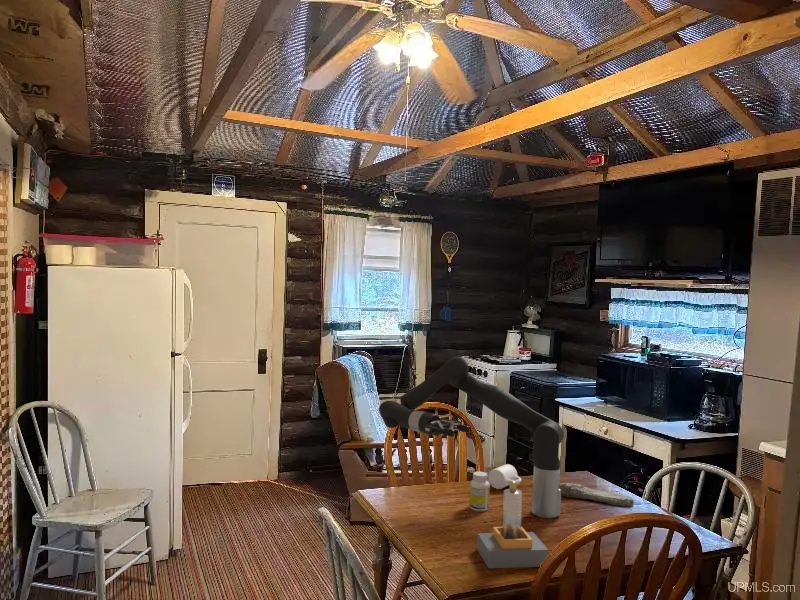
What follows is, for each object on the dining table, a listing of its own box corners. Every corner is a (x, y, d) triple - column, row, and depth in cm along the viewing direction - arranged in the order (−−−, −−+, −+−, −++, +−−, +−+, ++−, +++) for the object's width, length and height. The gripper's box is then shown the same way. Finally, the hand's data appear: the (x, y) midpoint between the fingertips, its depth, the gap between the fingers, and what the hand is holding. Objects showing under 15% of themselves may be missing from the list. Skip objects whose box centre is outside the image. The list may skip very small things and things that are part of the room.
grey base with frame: (530, 545, 182) (531, 522, 181) (547, 566, 168) (548, 541, 168) (475, 546, 179) (476, 523, 179) (488, 568, 166) (489, 542, 165)
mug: (487, 486, 234) (488, 467, 234) (500, 480, 242) (501, 462, 241) (513, 494, 226) (514, 474, 226) (525, 488, 234) (526, 469, 233)
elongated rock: (632, 514, 215) (633, 506, 224) (634, 500, 215) (634, 493, 224) (539, 491, 229) (543, 485, 238) (540, 478, 229) (544, 473, 238)
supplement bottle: (479, 503, 215) (481, 469, 215) (492, 509, 210) (494, 475, 209) (465, 506, 211) (466, 472, 211) (478, 513, 206) (479, 478, 205)
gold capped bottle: (516, 536, 176) (518, 478, 175) (523, 544, 170) (524, 484, 170) (500, 537, 175) (501, 479, 175) (506, 545, 170) (507, 485, 169)
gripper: (411, 415, 200) (449, 423, 189) (436, 409, 211) (473, 417, 200) (410, 436, 200) (448, 446, 189) (435, 429, 211) (472, 438, 200)
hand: (461, 431), depth 195 cm, fingers open, 8 cm apart
